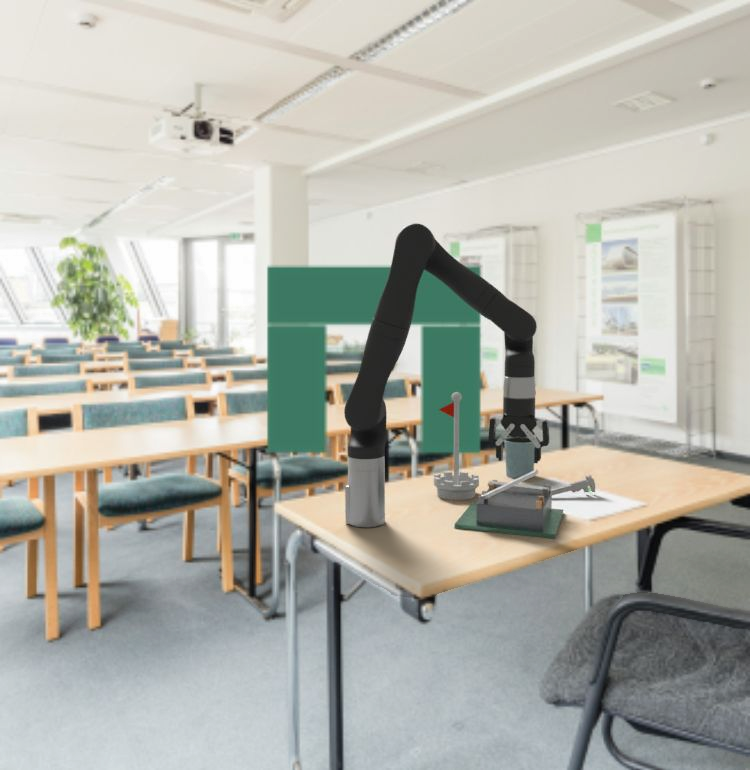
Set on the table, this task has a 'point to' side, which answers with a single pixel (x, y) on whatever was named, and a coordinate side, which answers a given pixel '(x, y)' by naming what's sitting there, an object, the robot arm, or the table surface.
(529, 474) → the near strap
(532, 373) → the robot arm
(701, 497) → the table surface
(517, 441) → the blue-grey cup
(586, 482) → the caliper
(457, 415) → the flag stand
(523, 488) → the far strap
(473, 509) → the base
